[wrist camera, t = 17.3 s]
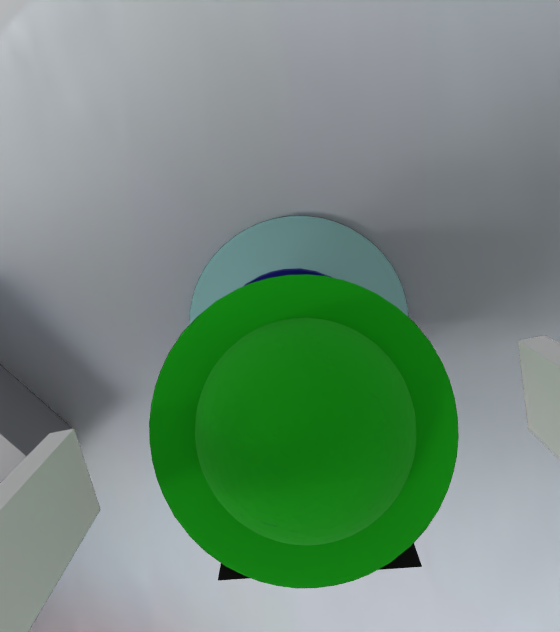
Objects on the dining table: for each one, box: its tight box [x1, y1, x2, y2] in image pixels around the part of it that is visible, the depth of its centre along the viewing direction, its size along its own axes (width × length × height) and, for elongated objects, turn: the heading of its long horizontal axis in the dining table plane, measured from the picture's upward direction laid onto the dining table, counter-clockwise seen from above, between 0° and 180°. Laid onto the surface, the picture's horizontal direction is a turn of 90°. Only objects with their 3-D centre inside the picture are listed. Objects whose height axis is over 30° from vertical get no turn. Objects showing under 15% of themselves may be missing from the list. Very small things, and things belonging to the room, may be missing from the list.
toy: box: [149, 268, 458, 588], centre depth 19 cm, size 9×9×15 cm
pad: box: [189, 216, 408, 325], centre depth 27 cm, size 11×11×1 cm
